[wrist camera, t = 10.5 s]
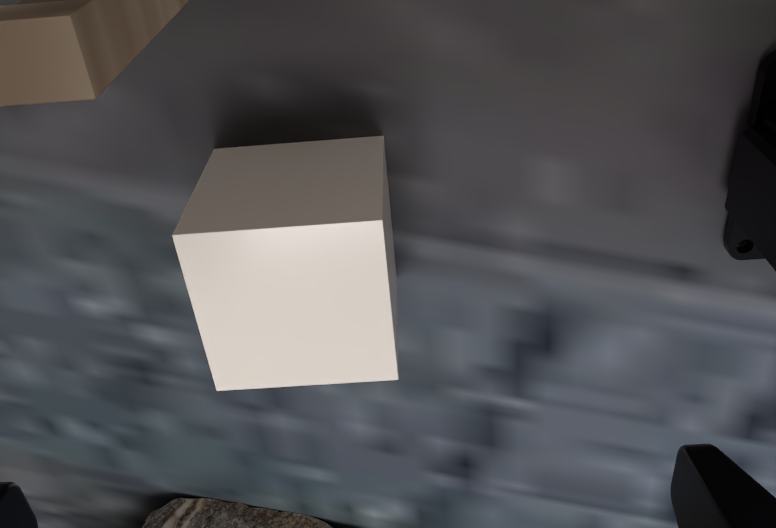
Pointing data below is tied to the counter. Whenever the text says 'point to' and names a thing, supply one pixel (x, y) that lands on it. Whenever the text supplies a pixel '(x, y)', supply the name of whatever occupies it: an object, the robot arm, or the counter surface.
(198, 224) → the limestone block
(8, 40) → the frame
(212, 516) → the rock
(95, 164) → the counter surface
